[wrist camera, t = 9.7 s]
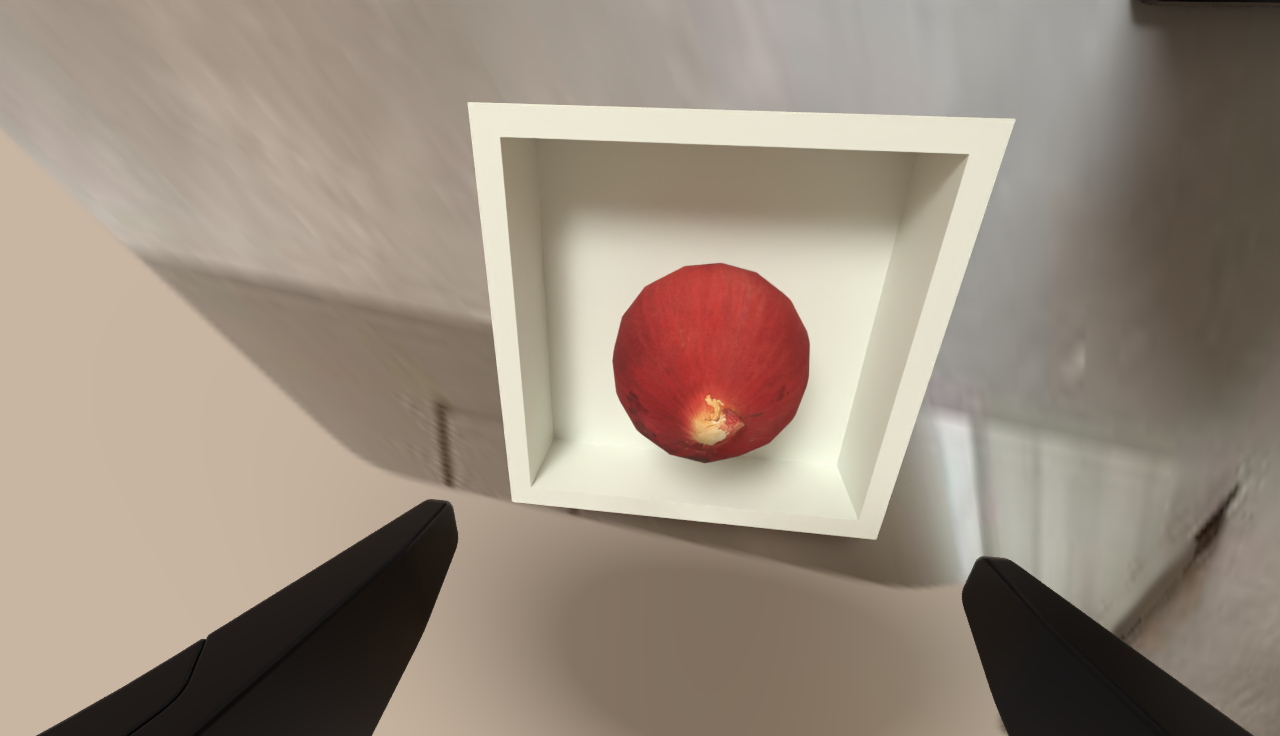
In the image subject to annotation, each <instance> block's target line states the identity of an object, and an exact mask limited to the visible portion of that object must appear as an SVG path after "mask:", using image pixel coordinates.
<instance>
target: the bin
mask: <svg viewBox="0 0 1280 736" xmlns="http://www.w3.org/2000/svg"><path fill="white" fill-rule="evenodd" d="M468 110H469V119H470V128H471V137H472V146H473V155H474V164H475V173H476V182H477V191H478V200H479V209H480V218H481V227H482V236H483V245H484V253H485V262H486V271H487V280H488V289H489V298H490V307H491V316H492V325H493V334H494V343H495V352H496V361H497V370H498V379H499V388H500V397H501V406H502V415H503V424H504V433H505V442H506V451H507V460H508V469H509V478H510V487H511V496H512V502H519V503H529V504H538V505H548V506H558V507H567V508H577V509H586V510H596V511H605V512H615V513H625V514H634V515H644V516H653V517H663V518H673V519H682V520H692V521H701V522H711V523H720V524H730V525H740V526H749V527H759V528H768V529H778V530H787V531H797V532H807V533H816V534H826V535H835V536H845V537H854V538H864V539H874V540H876V539H877V536H878V533H879V530H880V527H881V524H882V521H883V518H884V515H885V512H886V509H887V506H888V503H889V500H890V497H891V494H892V491H893V488H894V485H895V482H896V479H897V476H898V473H899V470H900V467H901V464H902V461H903V458H904V455H905V452H906V449H907V446H908V443H909V440H910V437H911V434H912V431H913V428H914V425H915V422H916V419H917V415H918V412H919V409H920V406H921V403H922V400H923V397H924V394H925V391H926V388H927V385H928V382H929V379H930V376H931V373H932V370H933V367H934V364H935V361H936V358H937V355H938V352H939V349H940V346H941V343H942V340H943V337H944V334H945V331H946V328H947V325H948V322H949V319H950V316H951V313H952V310H953V307H954V304H955V301H956V298H957V295H958V292H959V289H960V286H961V283H962V280H963V277H964V274H965V271H966V268H967V265H968V262H969V259H970V256H971V252H972V249H973V246H974V243H975V240H976V237H977V234H978V231H979V228H980V225H981V222H982V219H983V216H984V213H985V210H986V207H987V204H988V201H989V198H990V195H991V192H992V189H993V186H994V183H995V180H996V177H997V174H998V171H999V168H1000V165H1001V162H1002V159H1003V156H1004V153H1005V150H1006V147H1007V144H1008V141H1009V138H1010V135H1011V132H1012V129H1013V126H1014V123H1015V120H1016V119H1002V118H969V117H936V116H903V115H871V114H838V113H805V112H772V111H739V110H706V109H673V108H640V107H608V106H575V105H542V104H509V103H476V102H468ZM712 263H724V264H728V265H732V266H735V267H739V268H743V269H746V270H750V271H754V272H757V273H758V274H759V275H761V276H762V277H763V278H765V279H766V280H767V281H768V282H770V283H771V284H772V285H774V286H775V287H776V288H778V289H779V290H780V291H781V292H783V293H784V294H785V295H786V296H787V297H788V298H789V299H790V300H791V301H792V303H793V305H794V307H795V309H796V311H797V313H798V315H799V317H800V319H801V321H802V323H803V325H804V326H805V328H806V330H807V333H808V337H809V341H810V358H809V379H808V383H807V387H806V390H805V392H804V395H803V398H802V400H801V403H800V405H799V408H798V410H797V413H796V416H795V417H794V418H793V420H792V421H791V422H790V423H789V424H788V425H787V426H786V427H785V428H784V429H783V430H782V431H781V432H780V433H779V434H778V435H777V436H776V437H775V438H774V439H773V440H772V441H771V442H770V443H769V444H767V445H765V446H762V447H760V448H757V449H755V450H753V451H750V452H748V453H746V454H743V455H741V456H738V457H734V458H729V459H724V460H719V461H714V462H710V463H702V462H698V461H693V460H689V459H685V458H681V457H677V456H673V455H670V454H668V453H667V452H665V451H664V450H663V449H661V448H660V447H658V446H657V445H656V444H654V443H653V442H651V441H650V440H649V439H647V438H646V437H644V436H643V435H642V434H641V433H639V432H638V431H637V430H636V428H635V427H634V425H633V423H632V421H631V420H630V418H629V416H628V415H627V413H626V411H625V409H624V408H623V406H622V404H621V403H620V400H619V398H618V396H617V394H616V388H615V380H614V371H613V363H612V359H613V351H614V346H615V342H616V338H617V334H618V330H619V326H620V322H621V318H622V316H623V315H624V313H625V312H626V311H627V309H628V308H629V307H630V305H631V304H632V303H633V301H634V300H635V299H636V298H637V296H638V295H639V294H640V292H641V291H642V290H643V288H644V287H645V286H647V285H649V284H650V283H652V282H654V281H656V280H658V279H660V278H662V277H664V276H666V275H668V274H670V273H672V272H674V271H676V270H678V269H680V268H682V267H684V266H690V265H701V264H712Z"/></svg>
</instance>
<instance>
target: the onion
mask: <svg viewBox="0 0 1280 736" xmlns="http://www.w3.org/2000/svg"><path fill="white" fill-rule="evenodd" d="M809 358H810V341H809V337H808V333H807V330H806V328H805V326H804V325H803V323H802V321H801V319H800V317H799V315H798V313H797V311H796V309H795V307H794V305H793V303H792V301H791V300H790V299H789V298H788V297H787V296H786V295H785V294H784V293H783V292H781V291H780V290H779V289H778V288H776V287H775V286H774V285H772V284H771V283H770V282H768V281H767V280H766V279H765V278H763V277H762V276H761V275H759V274H758V273H757V272H754V271H750V270H746V269H743V268H739V267H735V266H732V265H728V264H724V263H712V264H701V265H690V266H684V267H682V268H680V269H678V270H676V271H674V272H672V273H670V274H668V275H666V276H664V277H662V278H660V279H658V280H656V281H654V282H652V283H650V284H649V285H647V286H645V287H644V288H643V290H642V291H641V292H640V294H639V295H638V296H637V298H636V299H635V300H634V301H633V303H632V304H631V305H630V307H629V308H628V309H627V311H626V312H625V313H624V315H623V316H622V318H621V322H620V326H619V330H618V334H617V338H616V342H615V346H614V351H613V359H612V363H613V371H614V380H615V388H616V394H617V396H618V398H619V400H620V403H621V404H622V406H623V408H624V409H625V411H626V413H627V415H628V416H629V418H630V420H631V421H632V423H633V425H634V427H635V428H636V430H637V431H638V432H639V433H641V434H642V435H643V436H644V437H646V438H647V439H649V440H650V441H651V442H653V443H654V444H656V445H657V446H658V447H660V448H661V449H663V450H664V451H665V452H667V453H668V454H670V455H673V456H677V457H681V458H685V459H689V460H693V461H698V462H702V463H710V462H714V461H719V460H724V459H729V458H734V457H738V456H741V455H743V454H746V453H748V452H750V451H753V450H755V449H757V448H760V447H762V446H765V445H767V444H769V443H770V442H771V441H772V440H773V439H774V438H775V437H776V436H777V435H778V434H779V433H780V432H781V431H782V430H783V429H784V428H785V427H786V426H787V425H788V424H789V423H790V422H791V421H792V420H793V418H794V417H795V416H796V413H797V410H798V408H799V405H800V403H801V400H802V398H803V395H804V392H805V390H806V387H807V383H808V379H809Z"/></svg>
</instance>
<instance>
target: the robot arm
mask: <svg viewBox="0 0 1280 736" xmlns="http://www.w3.org/2000/svg"><path fill="white" fill-rule="evenodd" d="M1140 1H1141V2H1142V3H1144V4H1148V5H1213V6H1280V0H1140ZM457 543H458V531H457V526H456V520H455V514H454V509H453V506H452V504H451V503H450V502H449V501H444V500H434V499H429V500H426V501H424V502H422V503H421V504H419V505H417V506H416V507H414V508H412V509H411V510H409V511H408V512H406V513H404V514H403V515H401V516H400V517H398V518H396V519H395V520H393V521H391V522H390V523H388V524H387V525H385V526H383V527H382V528H380V529H379V530H377V531H375V532H374V533H372V534H370V535H369V536H368V537H366V538H364V539H363V540H361V541H359V542H358V543H356V544H354V545H353V546H351V547H350V548H348V549H346V550H345V551H343V552H341V553H340V554H338V555H337V556H335V557H334V558H332V559H330V560H329V561H327V562H325V563H324V564H322V565H321V566H319V567H317V568H316V569H314V570H312V571H311V572H309V573H308V574H306V575H305V576H303V577H301V578H300V579H298V580H297V581H295V582H293V583H291V584H290V585H288V586H287V587H285V588H283V589H282V590H280V591H279V592H277V593H275V594H274V595H272V596H271V597H269V598H267V599H266V600H264V601H262V602H261V603H259V604H258V605H256V606H255V607H253V608H251V609H250V610H248V611H246V612H245V613H243V614H241V615H240V616H238V617H237V618H235V619H233V620H232V621H230V622H229V623H227V624H225V625H224V626H222V627H220V628H219V629H217V630H216V631H214V632H212V633H211V634H209V635H208V637H207V639H201V640H199V641H198V642H196V643H194V644H193V645H191V646H190V647H188V648H186V649H185V650H183V651H182V652H180V653H178V654H177V655H175V656H173V657H172V658H170V659H168V660H167V661H165V662H163V663H162V664H160V665H159V666H157V667H155V668H154V669H152V670H150V671H149V672H147V673H145V674H144V675H142V676H141V677H139V678H137V679H135V680H134V681H132V682H130V683H129V684H127V685H125V686H124V687H122V688H120V689H118V690H117V691H115V692H113V693H111V694H110V695H108V696H106V697H104V698H103V699H101V700H99V701H97V702H96V703H94V704H92V705H90V706H88V707H87V708H85V709H83V710H81V711H80V712H78V713H77V714H74V715H73V716H71V717H69V718H67V719H66V720H64V721H62V722H60V723H58V724H57V725H55V726H53V727H51V728H49V729H48V730H46V731H44V732H42V733H40V734H39V735H37V736H372V734H373V732H374V730H375V728H376V726H377V724H378V722H379V720H380V718H381V716H382V714H383V712H384V710H385V709H386V706H387V705H388V703H389V700H390V698H391V697H392V694H393V693H394V691H395V689H396V686H397V685H398V682H399V681H400V679H401V677H402V675H403V673H404V671H405V669H406V667H407V665H408V663H409V661H410V659H411V657H412V655H413V653H414V651H415V649H416V647H417V645H418V643H419V641H420V639H421V637H422V634H423V632H424V630H425V628H426V625H427V623H428V621H429V618H430V616H431V613H432V610H433V608H434V605H435V603H436V600H437V597H438V595H439V592H440V589H441V587H442V584H443V582H444V579H445V576H446V574H447V571H448V569H449V566H450V563H451V561H452V558H453V556H454V553H455V550H456V548H457ZM962 602H963V606H964V610H965V613H966V616H967V619H968V622H969V625H970V628H971V632H972V634H973V638H974V641H975V644H976V647H977V650H978V653H979V656H980V659H981V662H982V666H983V669H984V671H985V675H986V678H987V681H988V684H989V687H990V690H991V693H992V696H993V698H994V701H995V704H996V706H997V709H998V711H999V714H1000V716H1001V719H1002V721H1003V723H1004V726H1005V728H1006V730H1007V733H1008V735H1009V736H1253V735H1252V734H1251V733H1249V732H1248V731H1246V730H1245V729H1244V728H1242V727H1241V726H1240V725H1238V724H1237V723H1235V722H1234V721H1233V720H1231V719H1230V718H1228V717H1227V716H1226V715H1224V714H1223V713H1222V712H1220V711H1219V710H1217V709H1216V708H1215V707H1213V706H1212V705H1210V704H1209V703H1208V702H1206V701H1205V700H1204V699H1202V698H1201V697H1199V696H1198V695H1197V694H1195V693H1194V692H1193V691H1191V690H1190V689H1188V688H1187V687H1186V686H1184V685H1183V684H1181V683H1180V682H1179V681H1177V680H1176V679H1175V678H1173V677H1172V676H1170V675H1169V674H1168V673H1166V672H1165V671H1164V670H1162V669H1161V668H1159V667H1158V666H1157V665H1155V664H1154V663H1152V662H1151V661H1150V660H1148V659H1147V658H1146V657H1144V656H1143V655H1141V654H1140V653H1139V652H1137V651H1136V650H1134V649H1133V648H1132V647H1130V646H1129V645H1128V644H1126V643H1125V642H1123V641H1122V640H1121V639H1119V638H1118V637H1117V636H1115V635H1114V634H1112V633H1111V632H1110V631H1108V630H1107V629H1105V628H1104V627H1103V626H1101V625H1100V624H1099V623H1097V622H1096V621H1094V620H1093V619H1092V618H1090V617H1089V616H1088V615H1086V614H1085V613H1083V612H1082V611H1081V610H1079V609H1078V608H1076V607H1075V606H1074V605H1072V604H1071V603H1070V602H1068V601H1067V600H1065V599H1064V598H1063V597H1061V596H1060V595H1058V594H1057V593H1056V592H1054V591H1053V590H1052V589H1050V588H1049V587H1047V586H1046V585H1045V584H1043V583H1042V582H1041V581H1039V580H1038V579H1036V578H1035V577H1034V576H1032V575H1031V574H1029V573H1028V572H1027V571H1025V570H1024V569H1023V568H1021V567H1020V566H1018V565H1017V564H1016V563H1014V562H1013V561H1011V560H1009V559H1006V558H999V557H989V556H982V557H980V558H978V559H977V560H976V562H975V564H974V566H973V568H972V570H971V573H970V575H969V577H968V579H967V581H966V583H965V586H964V588H963V591H962Z"/></svg>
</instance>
